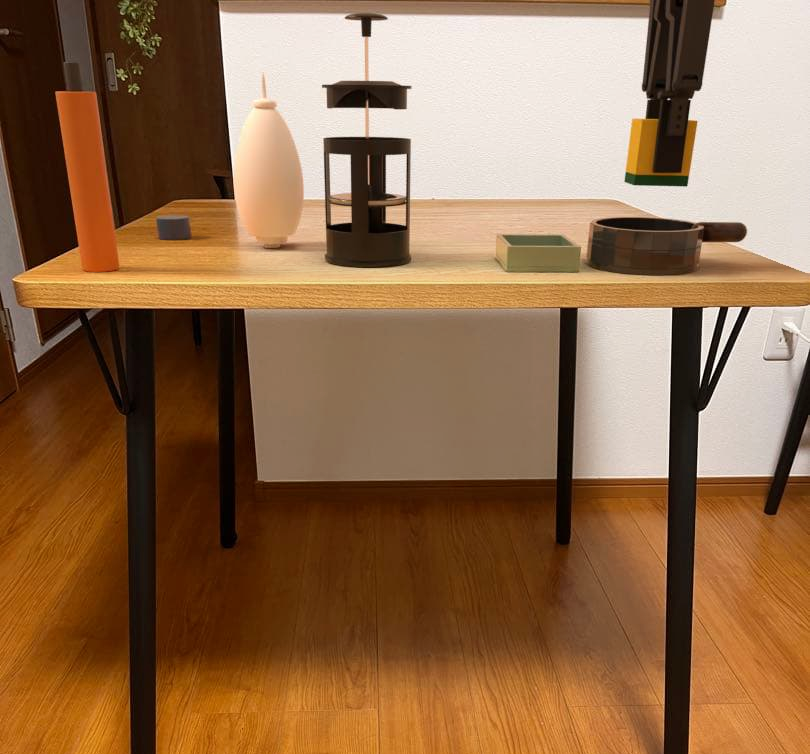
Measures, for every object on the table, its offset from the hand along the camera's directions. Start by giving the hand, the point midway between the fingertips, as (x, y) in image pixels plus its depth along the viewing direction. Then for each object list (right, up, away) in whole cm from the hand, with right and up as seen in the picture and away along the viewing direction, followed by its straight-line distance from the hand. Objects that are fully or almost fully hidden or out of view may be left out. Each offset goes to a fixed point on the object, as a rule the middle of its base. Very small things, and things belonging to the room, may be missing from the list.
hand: (659, 170), depth 89 cm
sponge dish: (-12, -8, +4) cm, 15 cm away
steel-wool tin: (-54, 0, +19) cm, 58 cm away
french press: (-30, -7, +6) cm, 31 cm away
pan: (-1, -8, +5) cm, 9 cm away
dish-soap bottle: (-57, -10, -1) cm, 58 cm away
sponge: (0, -1, +1) cm, 1 cm away
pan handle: (+7, -6, +4) cm, 10 cm away
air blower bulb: (-42, -4, +13) cm, 44 cm away
